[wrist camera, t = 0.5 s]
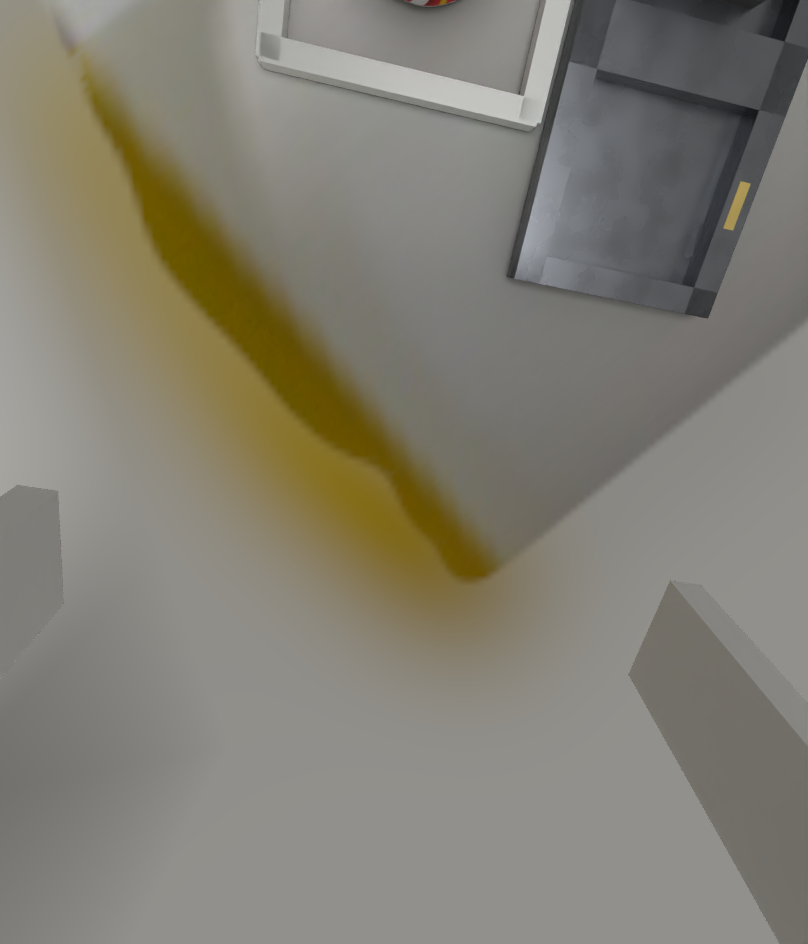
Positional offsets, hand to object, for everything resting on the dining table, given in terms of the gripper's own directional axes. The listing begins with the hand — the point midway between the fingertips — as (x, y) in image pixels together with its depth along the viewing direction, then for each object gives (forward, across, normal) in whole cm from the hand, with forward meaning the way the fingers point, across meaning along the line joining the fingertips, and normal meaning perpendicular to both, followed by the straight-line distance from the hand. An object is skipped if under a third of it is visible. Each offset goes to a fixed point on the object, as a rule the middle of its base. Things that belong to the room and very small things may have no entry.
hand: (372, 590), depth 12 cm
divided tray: (+26, +13, +18) cm, 34 cm away
